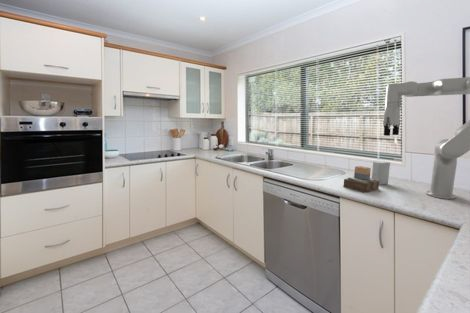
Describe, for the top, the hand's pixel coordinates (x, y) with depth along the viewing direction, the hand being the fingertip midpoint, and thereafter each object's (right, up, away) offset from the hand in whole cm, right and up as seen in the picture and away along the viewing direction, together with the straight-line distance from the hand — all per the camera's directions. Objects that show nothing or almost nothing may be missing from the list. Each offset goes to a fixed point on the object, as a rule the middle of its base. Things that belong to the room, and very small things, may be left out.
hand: (391, 135), depth 145 cm
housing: (-14, -26, +6) cm, 30 cm away
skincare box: (+4, -31, +18) cm, 36 cm away
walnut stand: (-14, -32, +7) cm, 36 cm away
